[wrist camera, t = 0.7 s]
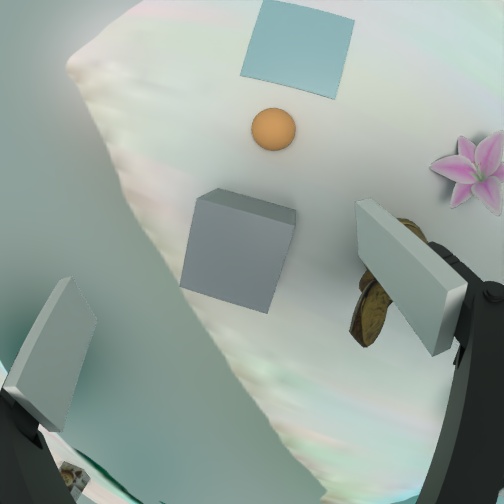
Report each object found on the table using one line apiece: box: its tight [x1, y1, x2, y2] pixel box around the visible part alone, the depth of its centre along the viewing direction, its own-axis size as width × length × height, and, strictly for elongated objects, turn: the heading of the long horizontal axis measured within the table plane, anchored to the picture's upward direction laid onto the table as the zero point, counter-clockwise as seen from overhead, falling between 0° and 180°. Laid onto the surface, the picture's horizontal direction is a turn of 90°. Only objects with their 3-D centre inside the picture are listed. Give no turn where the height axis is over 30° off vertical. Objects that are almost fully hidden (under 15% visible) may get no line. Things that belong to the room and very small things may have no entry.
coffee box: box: [59, 461, 90, 502], centre depth 67 cm, size 9×6×16 cm
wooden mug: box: [349, 218, 428, 347], centre depth 31 cm, size 9×14×18 cm, turn 100°
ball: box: [252, 108, 295, 150], centre depth 34 cm, size 5×5×5 cm
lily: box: [429, 130, 504, 216], centre depth 31 cm, size 12×12×10 cm
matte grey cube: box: [180, 189, 296, 314], centre depth 37 cm, size 10×10×9 cm
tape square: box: [240, 0, 355, 99], centre depth 32 cm, size 12×12×1 cm
